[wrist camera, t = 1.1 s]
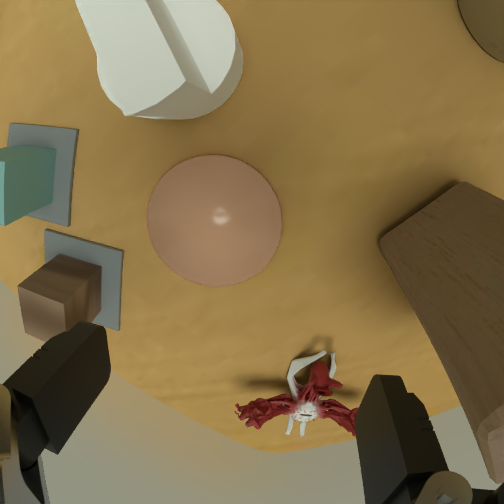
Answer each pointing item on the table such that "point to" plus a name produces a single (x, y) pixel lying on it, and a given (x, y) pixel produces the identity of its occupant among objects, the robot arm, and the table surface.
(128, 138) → the table surface
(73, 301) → the walnut block
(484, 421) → the block
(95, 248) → the code tile
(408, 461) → the robot arm
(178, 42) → the cylinder with rectangular tab
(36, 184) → the teal block
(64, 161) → the code tile
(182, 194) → the pink round disc
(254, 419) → the figurine
